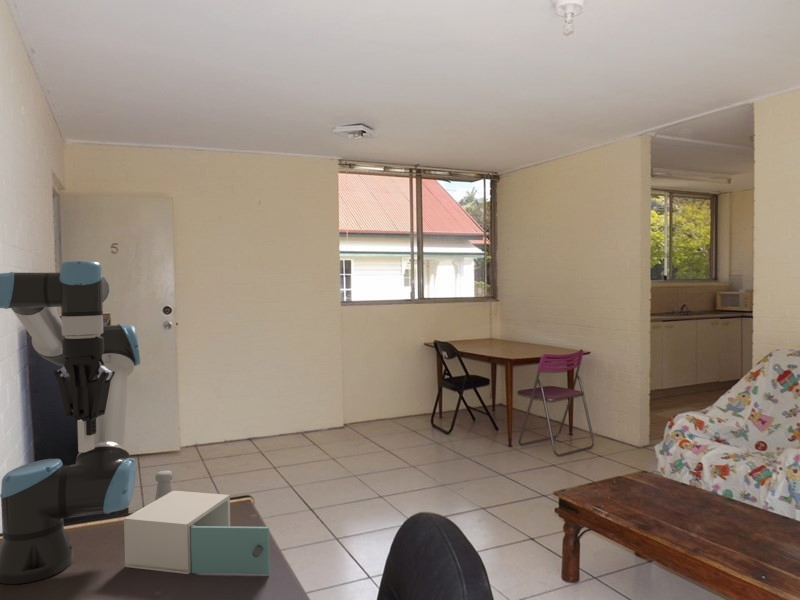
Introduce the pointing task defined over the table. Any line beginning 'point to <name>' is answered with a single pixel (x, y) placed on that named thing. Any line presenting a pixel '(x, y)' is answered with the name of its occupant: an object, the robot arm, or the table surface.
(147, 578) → the table surface
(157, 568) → the storage box
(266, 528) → the side door
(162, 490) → the salt shaker
